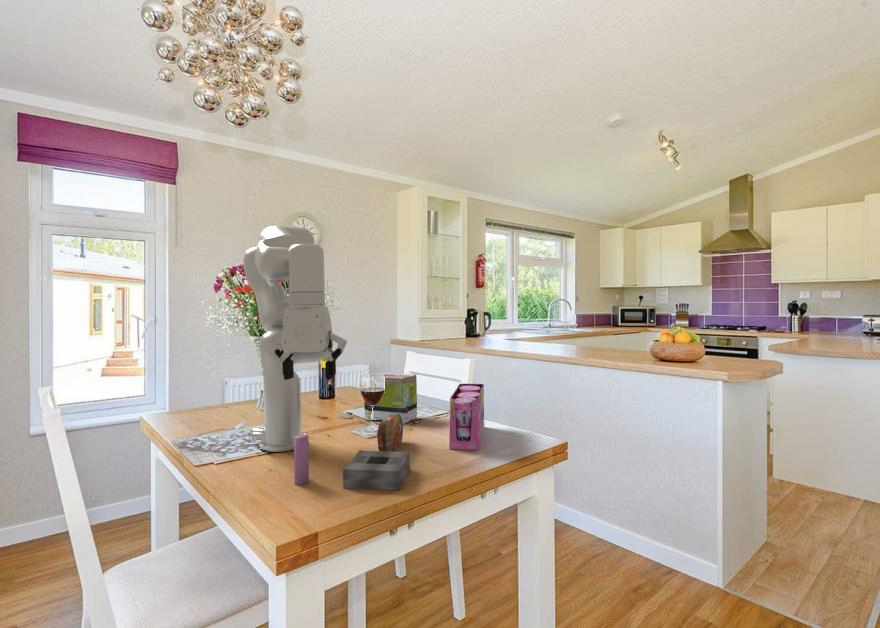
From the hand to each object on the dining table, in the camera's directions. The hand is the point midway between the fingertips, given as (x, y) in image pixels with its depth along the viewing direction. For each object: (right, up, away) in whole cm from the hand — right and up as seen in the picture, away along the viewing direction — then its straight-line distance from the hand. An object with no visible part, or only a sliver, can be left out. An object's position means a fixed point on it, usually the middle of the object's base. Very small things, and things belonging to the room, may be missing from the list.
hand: (309, 378), depth 100 cm
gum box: (+37, -21, +30) cm, 52 cm away
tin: (+16, -22, +21) cm, 34 cm away
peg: (-1, -22, -1) cm, 22 cm away
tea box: (+12, -21, +52) cm, 57 cm away
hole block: (+15, -22, +1) cm, 27 cm away
